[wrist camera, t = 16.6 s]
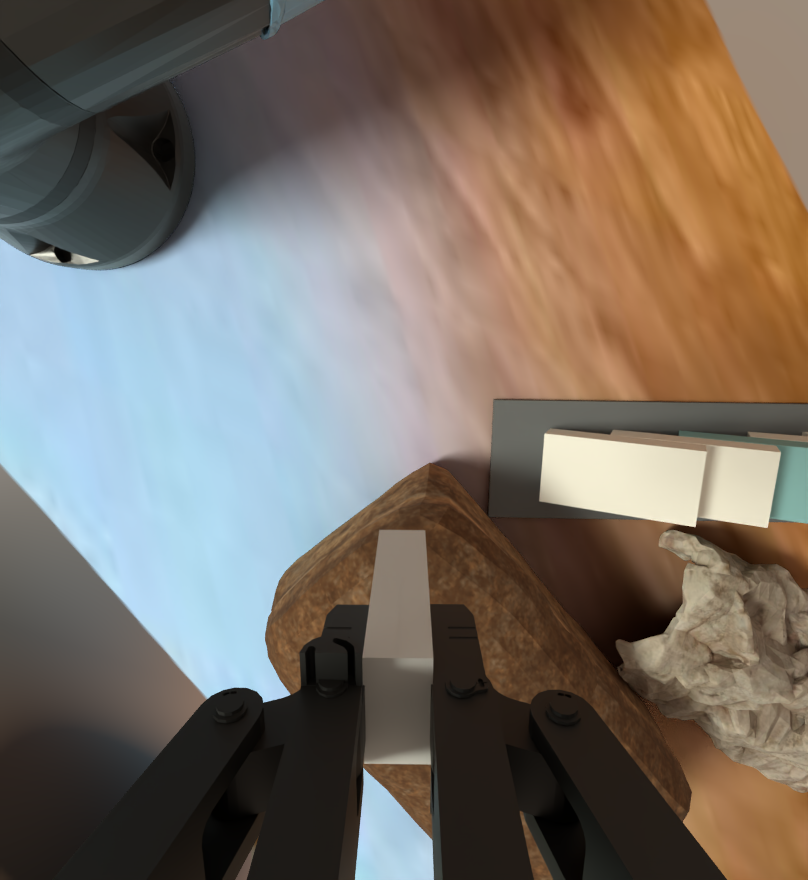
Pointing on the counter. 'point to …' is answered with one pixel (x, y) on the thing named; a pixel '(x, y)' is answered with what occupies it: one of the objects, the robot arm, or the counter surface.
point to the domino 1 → (623, 475)
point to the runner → (529, 420)
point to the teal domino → (780, 474)
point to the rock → (732, 659)
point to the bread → (496, 617)
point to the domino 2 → (732, 478)
